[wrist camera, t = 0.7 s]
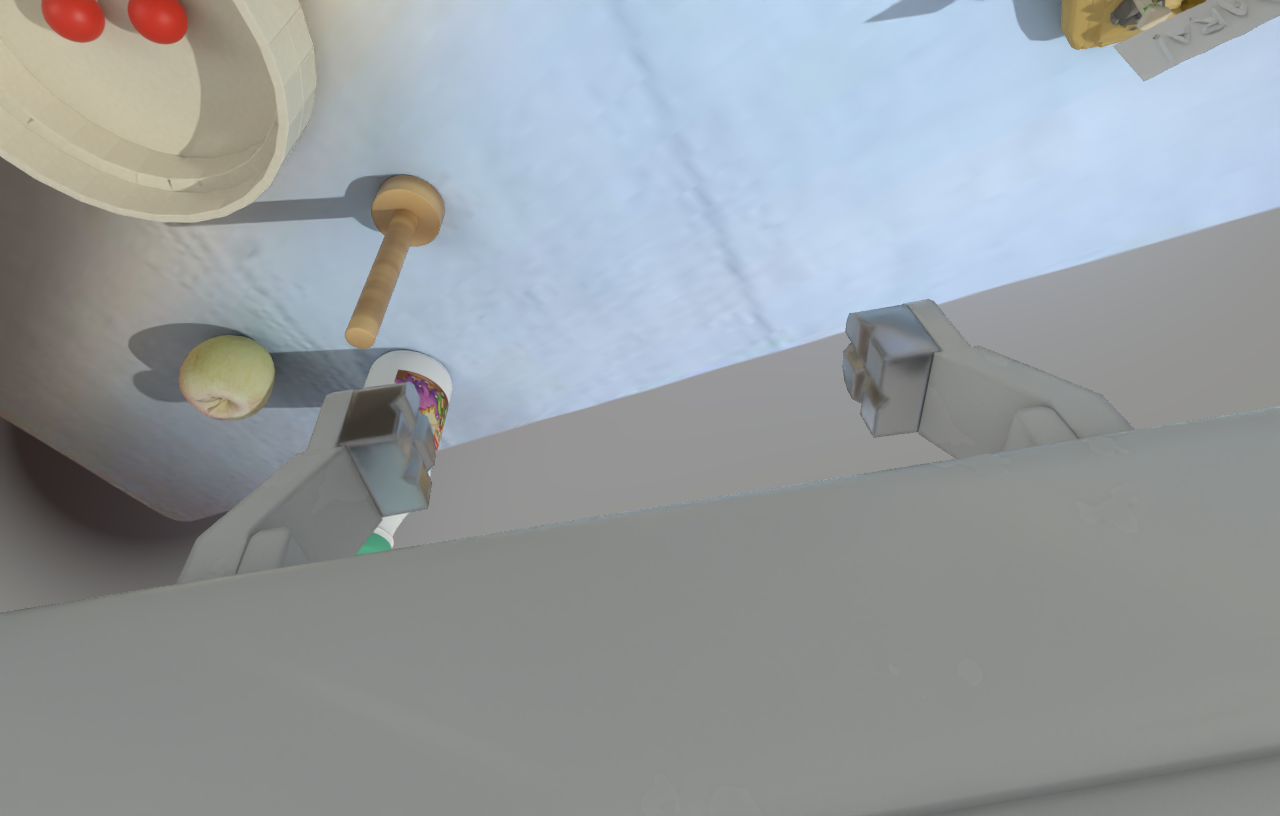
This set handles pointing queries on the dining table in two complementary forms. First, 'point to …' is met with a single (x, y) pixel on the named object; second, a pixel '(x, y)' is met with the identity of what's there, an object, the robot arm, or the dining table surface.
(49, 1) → the tomato
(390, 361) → the milk bottle
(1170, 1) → the cake
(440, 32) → the dining table surface
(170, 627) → the robot arm
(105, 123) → the bowl
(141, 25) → the tomato
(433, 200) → the wooden peg stand
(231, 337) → the fruit
